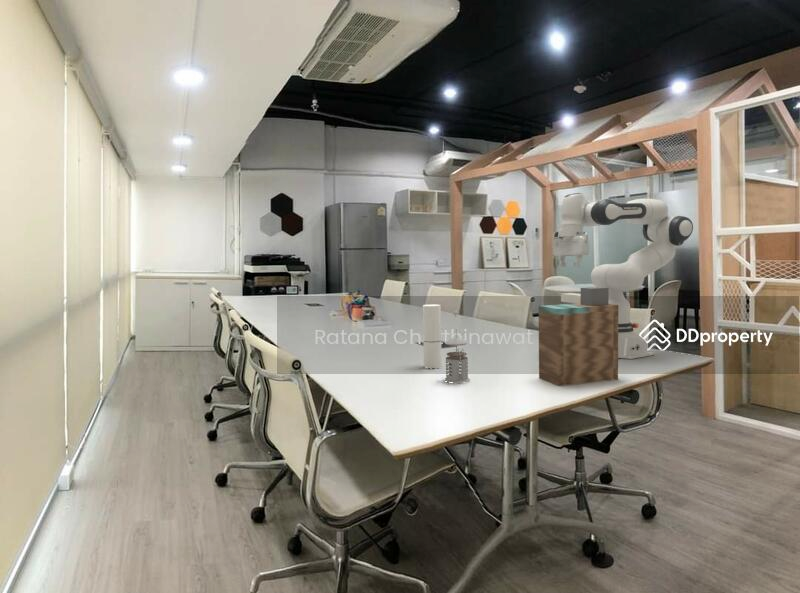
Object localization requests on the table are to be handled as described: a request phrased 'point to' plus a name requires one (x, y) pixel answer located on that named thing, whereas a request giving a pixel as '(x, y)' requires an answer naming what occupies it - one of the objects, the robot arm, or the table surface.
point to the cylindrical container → (432, 336)
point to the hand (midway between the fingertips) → (569, 267)
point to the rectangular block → (588, 296)
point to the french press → (456, 361)
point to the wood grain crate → (578, 343)
